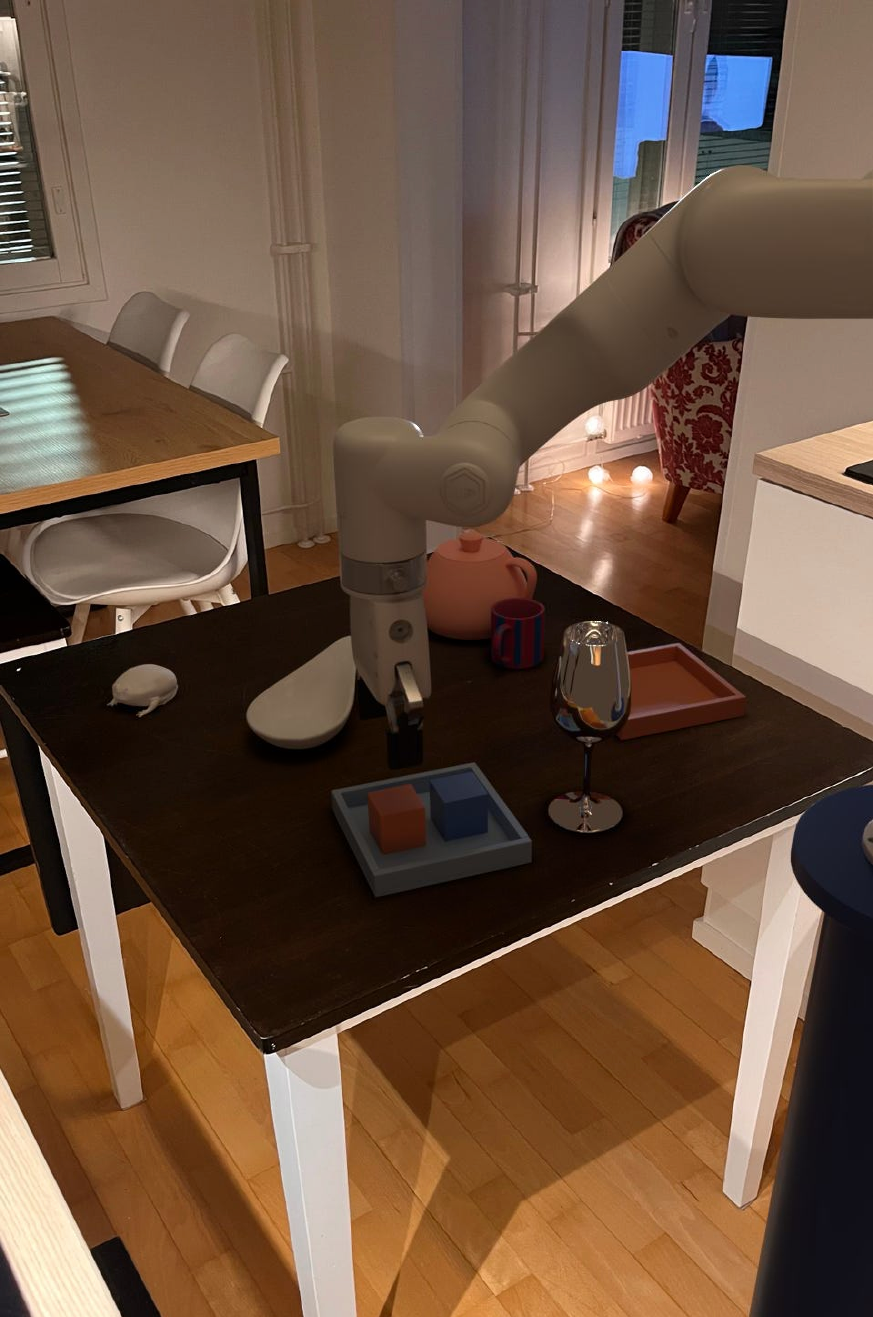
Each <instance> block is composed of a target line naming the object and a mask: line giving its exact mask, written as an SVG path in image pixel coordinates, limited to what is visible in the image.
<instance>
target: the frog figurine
mask: <svg viewBox="0 0 873 1317" xmlns="http://www.w3.org/2000/svg"><path fill="white" fill-rule="evenodd" d="M178 690H179V685H178V681H177V677H176V674H174V672H173V671H172V670H170V669H169V668H166V667H163V666H160V665H157V664H152V663H146V664H140V665H137V666H134V667H131V668H129V669H127V670H126V671H124V672H123V673H122V674H121V675H120V676H118V677H117V679H116V680H115V682H114V683H113V684H112V685H111V693H112V697H113V698H112V700H111V701H110V702H109V703H107V704H106V706H111V707H114V705H116V706H118V704H123V705H128V706H134V707H148V708H147V709H142V711H137V714H136V716H138V717H139V718H141V717H142V716H144V715H147V714H149V713H151V712H152V711H154V710H155V709H156V708H157V707H159V706H161V705H166V703H168V702H169V701H171V700H172V699H173V698H174V697H176V694H177V693H178V692H177V691H178Z"/></svg>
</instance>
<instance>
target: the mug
mask: <svg viewBox="0 0 873 1317" xmlns="http://www.w3.org/2000/svg"><path fill="white" fill-rule="evenodd" d="M545 613H546V608H545V606H544V605H543V604H542V603H541V602H539V601H537V600H534V599H532V600H531V599H526V598H510V599H504V600H501V601H498V602H496V603H495V604H493V605H492V607H491V638H490V659H491V661H492V662H493V663H494V664H495V665H497V666H499V667H501V668H506V669H509V670H510V669H512V670H523V669H530V668H533V667H536V666H538V665H539V664H540V663H542V662H543V660H544V656H545V655H544V654H545V621H546V620H545V618H546V615H545Z"/></svg>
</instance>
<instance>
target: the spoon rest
mask: <svg viewBox="0 0 873 1317" xmlns="http://www.w3.org/2000/svg"><path fill="white" fill-rule="evenodd" d="M355 689H356V666H355V663H354V660H353V654H352V644H351V635H347V636H344V637H342V638H339V639H338V640H336V641H335V642H333V643H332V644H330V645H329V646H328V647H326V648H325V649H324V650H322V651H321V652H320V653H318V654H317V655H316V656H314V657H313V658H312V659H310V660H309V661H307V662H306V663H304V664H303V665H302V666H300V667H298V668H297V669H295V670H294V671H292V672H291V673H289V674H288V675H287V676H285V677H283V678H282V679H280V680H279V681H277V682H276V683H274V684H273V685H271V686H269V688H266V690H264V691H263V692H261V693H260V694H259V695H257V697H255V698H254V699H253V701H252V702H251V703H250V704H249V706H248V707H247V711H246V715H245V716H246V722H247V724H248V726H249V728H250V729H251V730H252V732H253V733H254V734H255V735H257V736H258V737H259V738H260V739H262V740H263V741H265V742H267V743H269V744H271V745H273V746H275V747H278V748H282V749H287V750H305V749H312V748H316V747H319V746H321V745H323V744H325V743H327V742H328V741H330V740H332V739H333V738H334V737H335V736H337V735H338V734H339V732H341V731H342V729H343V728H344V726H345V725H346V723H347V721H348V719H349V717H350V714H351V712H352V708H353V705H354V700H355Z"/></svg>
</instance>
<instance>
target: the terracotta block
mask: <svg viewBox="0 0 873 1317" xmlns="http://www.w3.org/2000/svg"><path fill="white" fill-rule="evenodd" d="M367 799H368V814H369V830H370V832H371V834H372V836H373V838H374V840H375V842H376V844H377V846H378V847H379V849H380V851H381V853H382V855H384V854H389V853H394V852H398V851H403V850H408V849H412V848H417V847H422V846H426V820H425V806H424V805H423V803H422V801H421V800H420V798H419V797H418V795H417V793H416V792H415V790H414V788H413V787H412V785H411V784H408V785H403V786H398V787H393V788H388V789H383V790H378V791H373V792H368V793H367Z"/></svg>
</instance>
